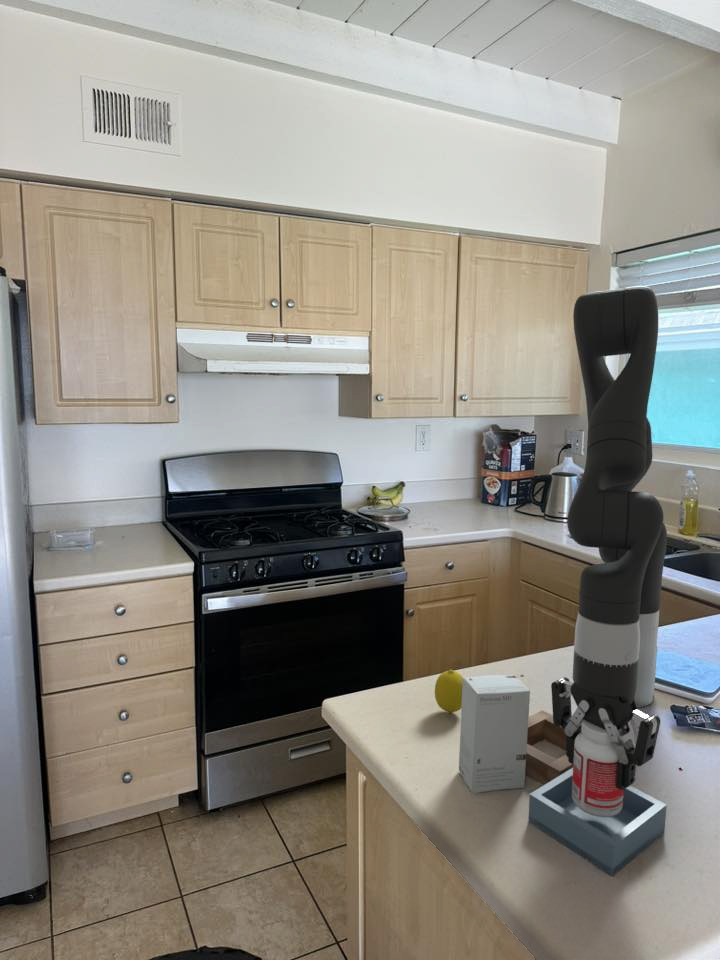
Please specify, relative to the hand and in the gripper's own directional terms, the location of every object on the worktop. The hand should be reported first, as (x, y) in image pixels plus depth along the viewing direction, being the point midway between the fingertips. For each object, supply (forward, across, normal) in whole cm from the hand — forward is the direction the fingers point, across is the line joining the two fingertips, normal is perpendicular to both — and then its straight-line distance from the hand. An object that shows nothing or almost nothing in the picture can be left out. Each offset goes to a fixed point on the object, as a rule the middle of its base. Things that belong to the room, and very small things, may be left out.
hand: (598, 773), depth 83 cm
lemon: (+8, +32, -6) cm, 33 cm away
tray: (+8, 0, 0) cm, 8 cm away
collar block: (+8, +13, -8) cm, 17 cm away
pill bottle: (+4, 0, 0) cm, 4 cm away
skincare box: (+8, +15, +3) cm, 17 cm away
